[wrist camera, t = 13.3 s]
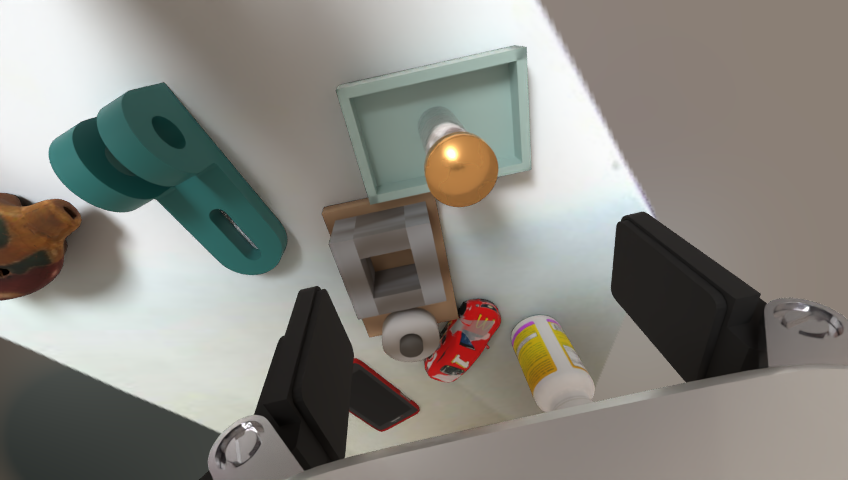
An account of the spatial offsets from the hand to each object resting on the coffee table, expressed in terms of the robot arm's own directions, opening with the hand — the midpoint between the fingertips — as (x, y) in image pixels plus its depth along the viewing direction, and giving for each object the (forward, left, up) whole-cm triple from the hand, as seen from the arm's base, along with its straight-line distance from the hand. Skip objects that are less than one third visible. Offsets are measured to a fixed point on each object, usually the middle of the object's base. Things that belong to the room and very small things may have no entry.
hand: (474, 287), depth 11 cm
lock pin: (+1, +2, -24) cm, 24 cm away
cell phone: (+36, -14, -25) cm, 46 cm away
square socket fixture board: (+15, -5, -24) cm, 29 cm away
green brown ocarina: (+2, -38, -25) cm, 46 cm away
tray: (+1, +2, -24) cm, 24 cm away
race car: (+27, 0, -25) cm, 37 cm away
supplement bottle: (+30, +10, -25) cm, 40 cm away
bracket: (+2, -20, -25) cm, 32 cm away
